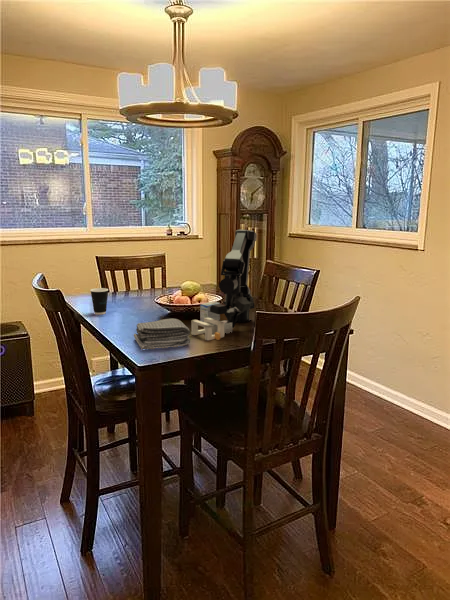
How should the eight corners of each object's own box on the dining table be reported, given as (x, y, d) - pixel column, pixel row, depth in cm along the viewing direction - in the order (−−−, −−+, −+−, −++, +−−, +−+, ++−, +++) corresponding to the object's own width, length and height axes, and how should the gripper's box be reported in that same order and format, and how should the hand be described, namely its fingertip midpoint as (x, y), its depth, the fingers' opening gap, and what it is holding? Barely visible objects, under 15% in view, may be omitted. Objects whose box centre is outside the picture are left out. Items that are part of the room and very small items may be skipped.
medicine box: (212, 321, 196) (212, 301, 194) (220, 322, 193) (220, 302, 191) (199, 324, 190) (199, 304, 188) (207, 326, 187) (208, 305, 185)
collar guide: (208, 331, 180) (208, 317, 179) (227, 337, 171) (227, 323, 170) (191, 334, 175) (191, 320, 174) (210, 341, 166) (210, 326, 165)
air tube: (225, 330, 182) (225, 320, 181) (232, 332, 178) (232, 322, 178) (205, 334, 175) (205, 324, 174) (212, 336, 172) (212, 326, 171)
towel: (191, 346, 160) (191, 325, 159) (139, 351, 155) (138, 329, 153) (181, 335, 174) (181, 315, 173) (133, 339, 169) (132, 318, 167)
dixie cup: (105, 315, 202) (104, 291, 200) (88, 315, 203) (87, 290, 201) (111, 311, 210) (110, 288, 208) (95, 311, 211) (93, 287, 209)
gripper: (228, 294, 166) (227, 336, 169) (264, 289, 177) (263, 328, 181) (209, 290, 174) (209, 330, 177) (245, 285, 186) (244, 322, 189)
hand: (232, 327), depth 181 cm, fingers closed
